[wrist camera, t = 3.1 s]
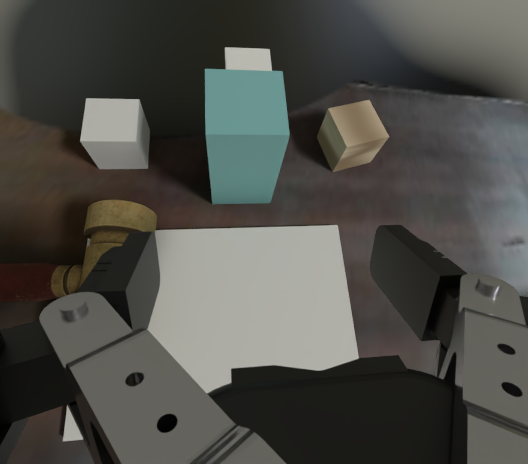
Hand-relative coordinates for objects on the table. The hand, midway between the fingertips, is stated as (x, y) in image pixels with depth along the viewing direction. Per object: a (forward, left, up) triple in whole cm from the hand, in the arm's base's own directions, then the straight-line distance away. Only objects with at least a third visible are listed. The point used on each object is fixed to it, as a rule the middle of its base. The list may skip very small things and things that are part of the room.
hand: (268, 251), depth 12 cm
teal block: (0, +11, -14) cm, 18 cm away
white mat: (-2, -1, -14) cm, 15 cm away
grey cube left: (-10, +14, -14) cm, 23 cm away
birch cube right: (+10, +14, -14) cm, 23 cm away
